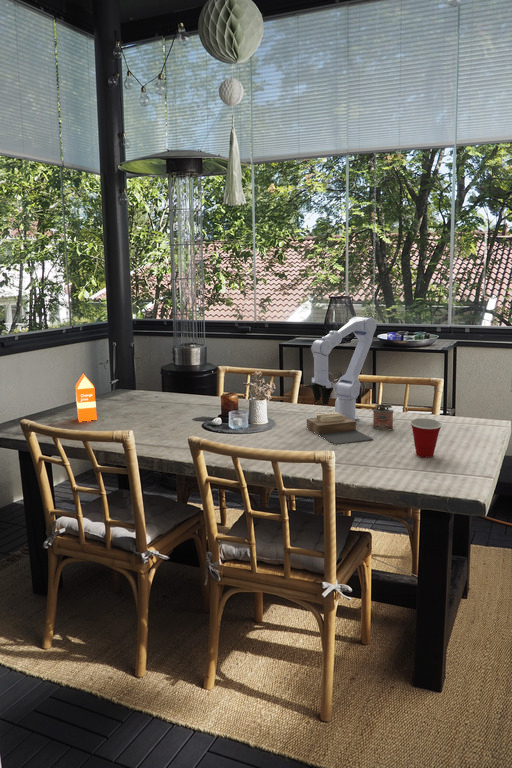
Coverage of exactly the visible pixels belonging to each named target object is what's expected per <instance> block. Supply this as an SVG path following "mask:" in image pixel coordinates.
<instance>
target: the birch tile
mask: <svg viewBox="0 0 512 768" xmlns="http://www.w3.org/2000/svg"><path fill="white" fill-rule="evenodd" d="M316 418H317V419H318V420H319V421H321V422H331V421H340V420H344V415H342V414H340V413H338V412H335V411H334V412H333V411H332V412H325V413H317V414H316Z"/></svg>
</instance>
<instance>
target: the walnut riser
mask: <svg viewBox="0 0 512 768" xmlns="http://www.w3.org/2000/svg"><path fill="white" fill-rule="evenodd" d="M307 428H308V429H307ZM306 429H307V430H309V429H310V430H311V431H310V430H309V431H310V432H312V431H313V432H312V433H314V432H315V433H316V435H317V434H318V435H317V436H319V434H327V433H336V432H344V431H353V430H357V421H356V420H352V419H350V418H348V417H346V416H344V420H340V421H331V422H321V421H319V420H318V419H317V417H312V418H307V419H306ZM315 433H314V434H315Z"/></svg>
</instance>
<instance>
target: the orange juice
mask: <svg viewBox="0 0 512 768" xmlns="http://www.w3.org/2000/svg"><path fill="white" fill-rule="evenodd" d="M75 400H76V408H77V409H76V410H77V419H78V423H83V422H82V421H87V422H92V421H91V420H98V416H97V406H96V405H97V402H96V390H95V385H94V384H93V382H91V380H89V379H88V377H87V376H86V375H85V374H84V373H82V375H81V376H80V378H78V381H77V382H76V384H75Z"/></svg>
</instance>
